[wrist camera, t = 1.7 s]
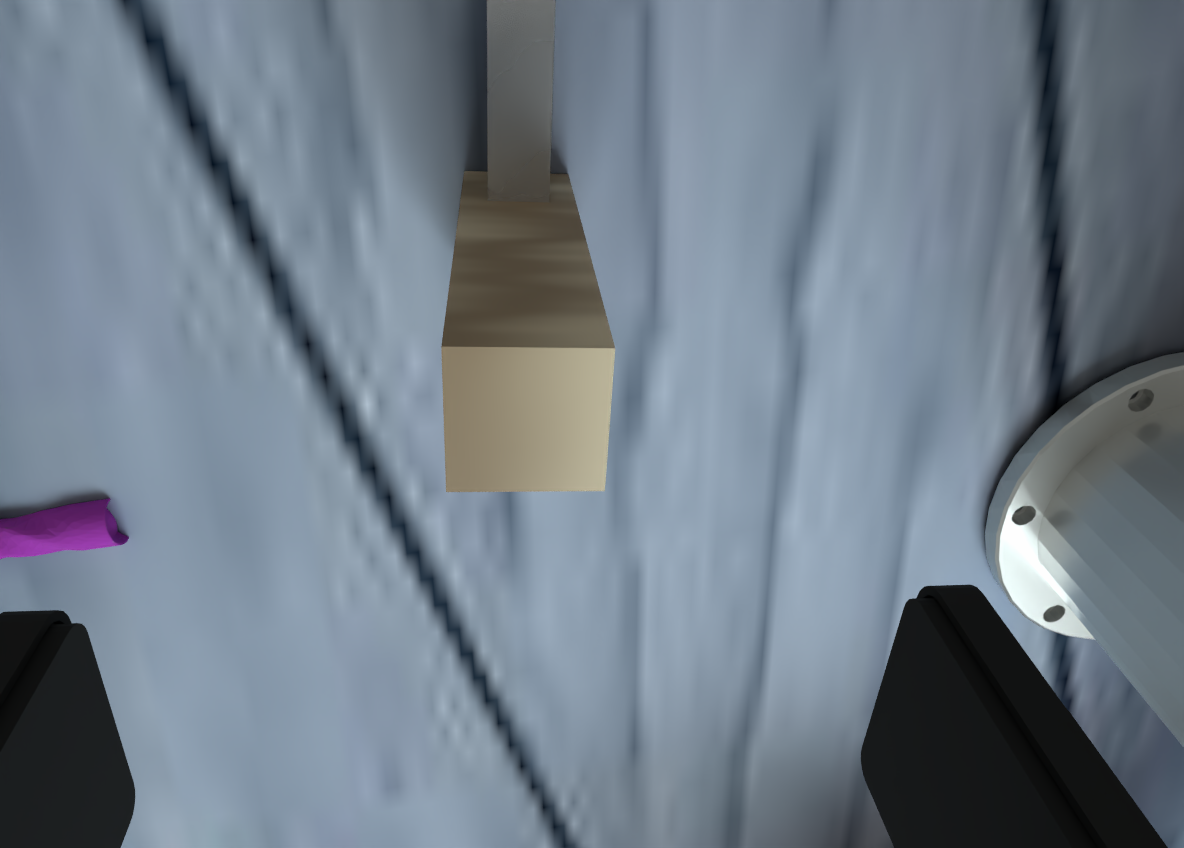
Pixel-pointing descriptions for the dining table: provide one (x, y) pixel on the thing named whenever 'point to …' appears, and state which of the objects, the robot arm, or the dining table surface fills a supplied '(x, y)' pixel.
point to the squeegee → (60, 530)
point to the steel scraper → (523, 293)
